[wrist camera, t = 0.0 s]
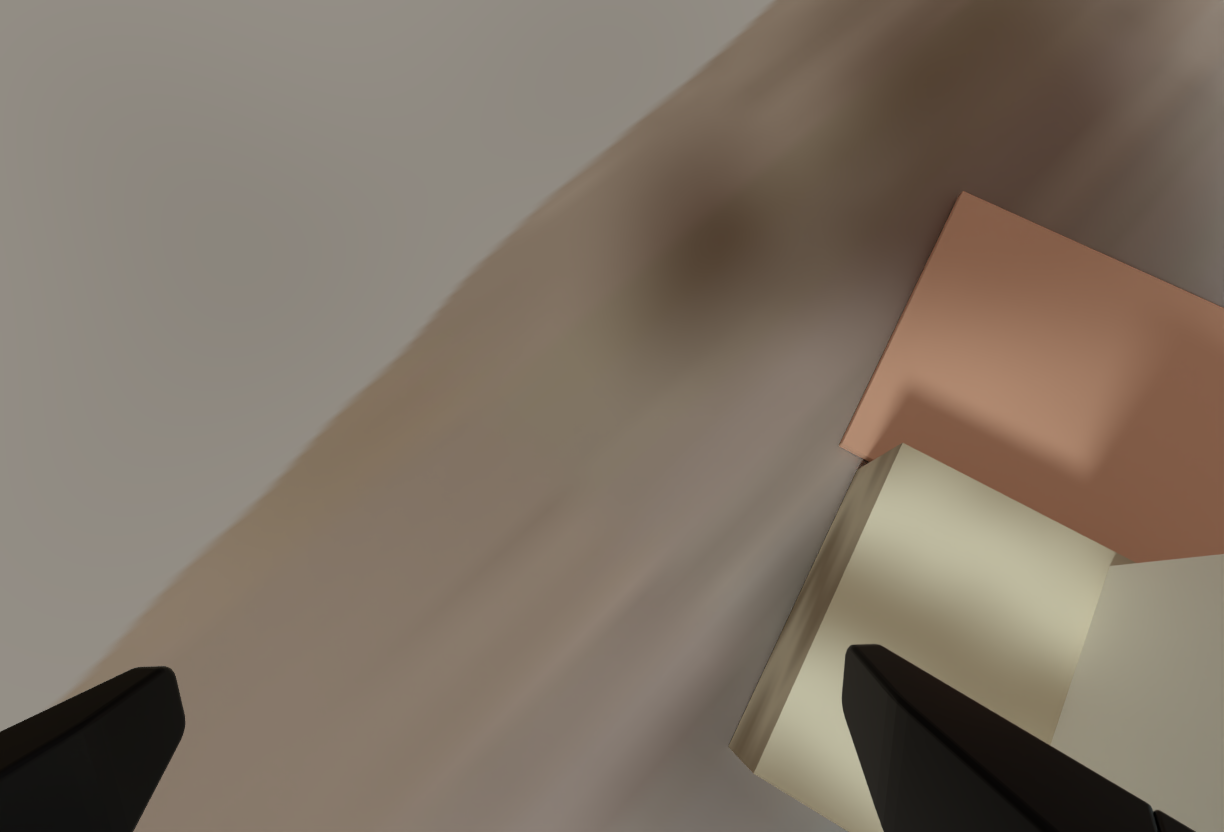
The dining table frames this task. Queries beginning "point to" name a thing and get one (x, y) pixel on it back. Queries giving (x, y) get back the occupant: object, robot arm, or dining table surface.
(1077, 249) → the mat
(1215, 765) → the block
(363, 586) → the dining table surface
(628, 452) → the dining table surface
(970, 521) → the board
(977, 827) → the robot arm
